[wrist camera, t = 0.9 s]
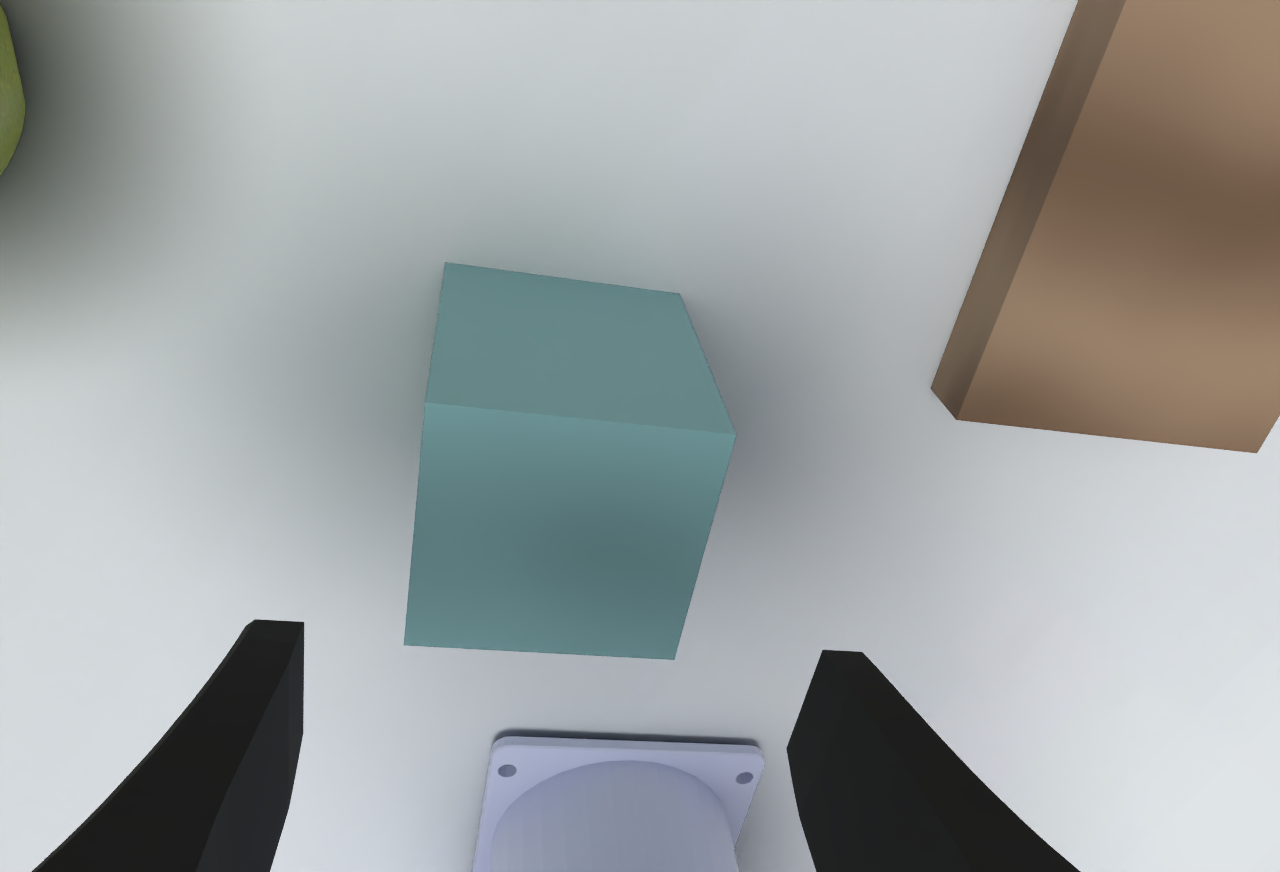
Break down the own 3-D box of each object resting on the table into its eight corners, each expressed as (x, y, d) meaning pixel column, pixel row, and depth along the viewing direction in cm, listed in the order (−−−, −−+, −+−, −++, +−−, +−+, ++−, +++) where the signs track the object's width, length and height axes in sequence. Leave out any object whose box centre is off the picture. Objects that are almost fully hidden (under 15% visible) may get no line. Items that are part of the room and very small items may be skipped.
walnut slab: (1204, 412, 25) (1257, 453, 23) (923, 378, 23) (956, 419, 21) (1434, -3, 20) (1521, 9, 18) (1095, -83, 18) (1156, -77, 16)
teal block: (636, 483, 23) (674, 659, 18) (427, 464, 22) (403, 645, 17) (679, 293, 21) (736, 434, 16) (445, 261, 20) (425, 402, 15)
